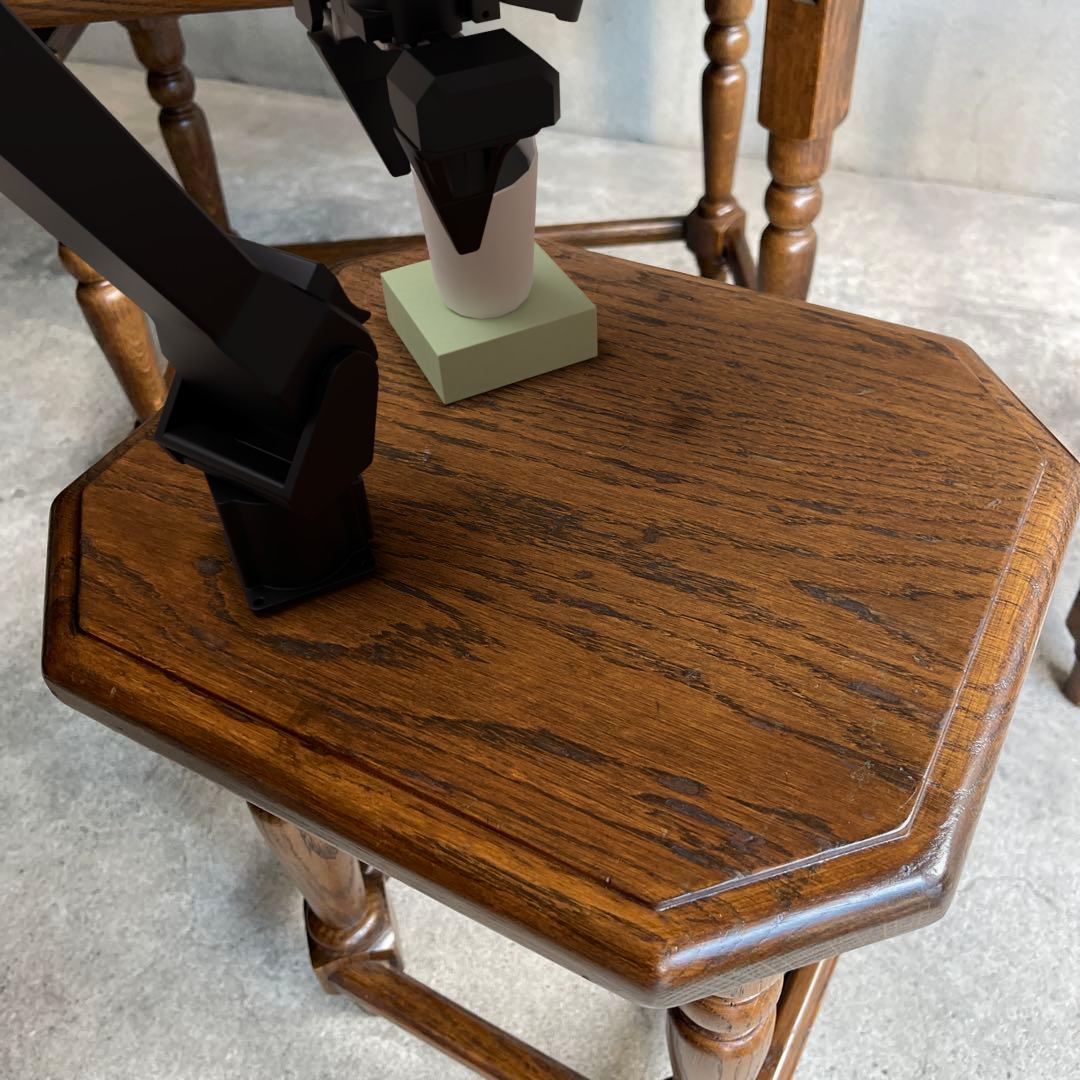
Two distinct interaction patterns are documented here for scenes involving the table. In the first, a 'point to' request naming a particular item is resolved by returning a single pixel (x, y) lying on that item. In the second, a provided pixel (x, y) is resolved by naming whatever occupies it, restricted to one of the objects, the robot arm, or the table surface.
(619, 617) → the table surface
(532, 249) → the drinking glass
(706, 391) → the table surface
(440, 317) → the riser block
